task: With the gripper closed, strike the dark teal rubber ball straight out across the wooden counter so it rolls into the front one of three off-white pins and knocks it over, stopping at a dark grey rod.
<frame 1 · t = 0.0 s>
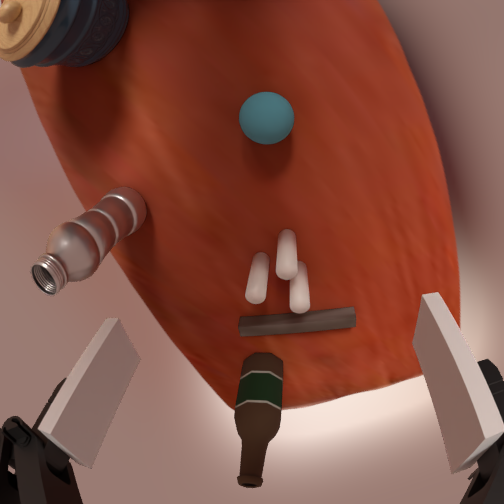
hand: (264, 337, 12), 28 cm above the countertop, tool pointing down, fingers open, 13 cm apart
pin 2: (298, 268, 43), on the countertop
beer bottle: (263, 363, 53), on the countertop
plastic bottle: (131, 203, 41), on the countertop
dark grey rod: (297, 317, 47), on the countertop
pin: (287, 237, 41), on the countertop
ball: (266, 117, 31), on the countertop
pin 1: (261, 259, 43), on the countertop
canister: (93, 25, 28), on the countertop
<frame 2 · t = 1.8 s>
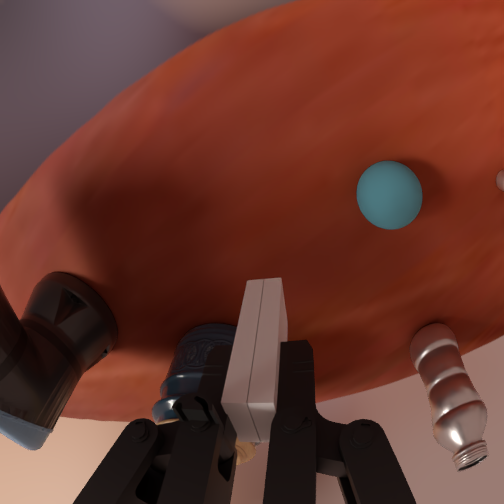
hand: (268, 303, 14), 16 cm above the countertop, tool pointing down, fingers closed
plastic bottle: (427, 334, 35), on the countertop
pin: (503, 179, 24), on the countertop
ball: (389, 194, 24), on the countertop
canister: (224, 354, 40), on the countertop
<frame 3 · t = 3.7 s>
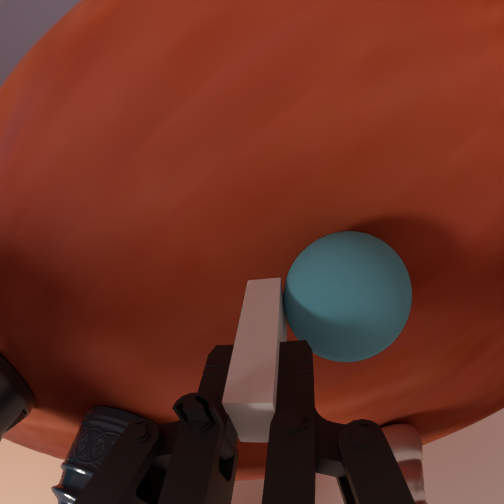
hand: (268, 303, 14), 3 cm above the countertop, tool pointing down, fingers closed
plastic bottle: (385, 430, 25), on the countertop
ball: (348, 296, 13), on the countertop
canister: (135, 433, 29), on the countertop
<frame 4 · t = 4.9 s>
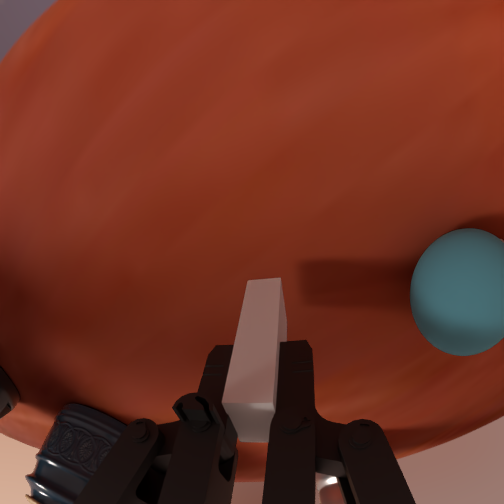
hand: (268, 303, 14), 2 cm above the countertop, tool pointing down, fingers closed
plastic bottle: (347, 445, 25), on the countertop
ball: (467, 292, 11), on the countertop
canister: (107, 430, 29), on the countertop
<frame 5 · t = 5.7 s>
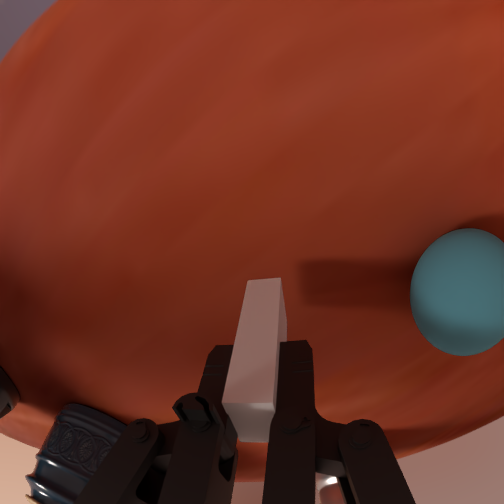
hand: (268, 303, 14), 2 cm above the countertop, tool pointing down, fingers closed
plastic bottle: (347, 445, 25), on the countertop
ball: (467, 292, 11), on the countertop
canister: (107, 430, 29), on the countertop
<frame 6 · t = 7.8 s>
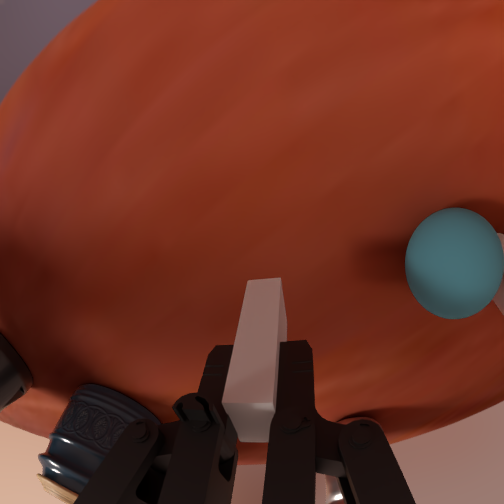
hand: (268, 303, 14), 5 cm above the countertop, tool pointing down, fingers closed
plastic bottle: (351, 423, 27), on the countertop
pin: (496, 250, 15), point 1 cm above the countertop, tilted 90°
ball: (455, 263, 14), on the countertop
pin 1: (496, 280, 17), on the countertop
canister: (120, 411, 32), on the countertop
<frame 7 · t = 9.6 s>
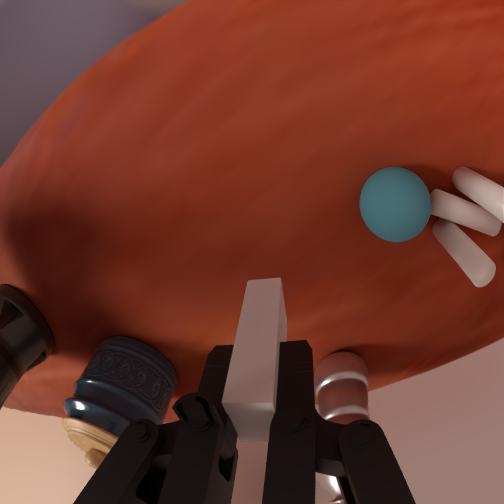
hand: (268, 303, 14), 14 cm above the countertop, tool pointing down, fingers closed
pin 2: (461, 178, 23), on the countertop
plastic bottle: (338, 361, 35), on the countertop
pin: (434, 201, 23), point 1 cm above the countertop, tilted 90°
ball: (395, 204, 22), on the countertop
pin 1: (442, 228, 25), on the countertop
canister: (137, 364, 40), on the countertop
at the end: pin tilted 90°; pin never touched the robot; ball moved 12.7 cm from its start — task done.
